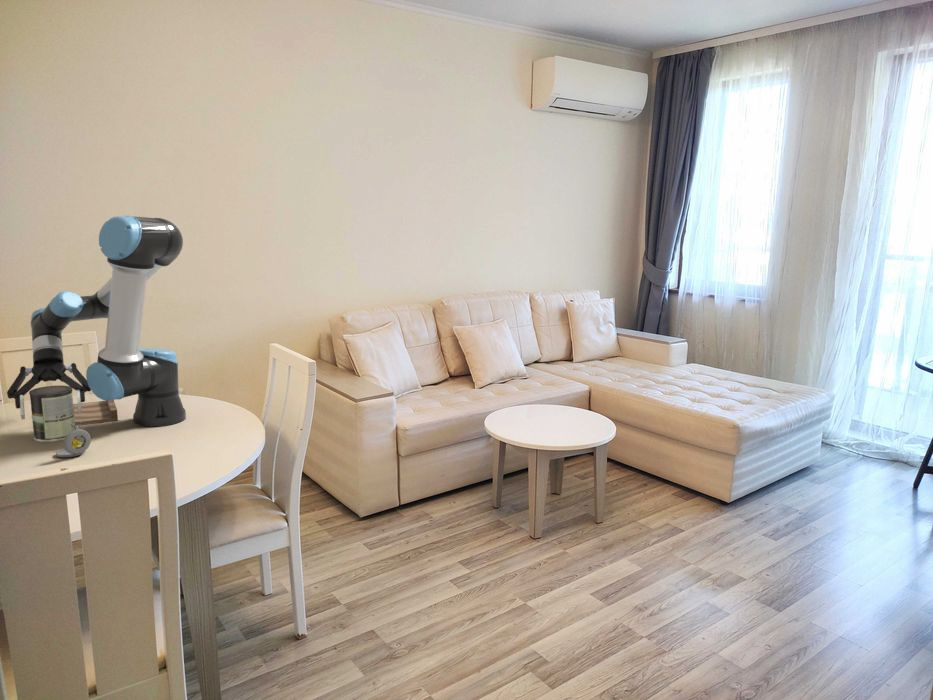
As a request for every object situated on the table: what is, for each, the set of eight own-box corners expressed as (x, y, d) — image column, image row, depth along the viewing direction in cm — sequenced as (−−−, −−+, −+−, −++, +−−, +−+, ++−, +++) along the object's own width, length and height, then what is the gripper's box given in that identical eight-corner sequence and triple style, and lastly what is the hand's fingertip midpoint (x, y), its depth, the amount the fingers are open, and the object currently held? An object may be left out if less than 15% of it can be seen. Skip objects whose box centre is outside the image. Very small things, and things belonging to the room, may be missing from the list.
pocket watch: (65, 450, 165) (62, 415, 163) (97, 450, 166) (94, 415, 164) (47, 460, 157) (43, 423, 155) (81, 461, 158) (78, 424, 156)
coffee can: (25, 442, 170) (20, 393, 168) (46, 431, 180) (42, 385, 178) (64, 442, 171) (60, 394, 169) (83, 431, 181) (79, 385, 179)
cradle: (55, 408, 203) (54, 398, 202) (112, 402, 212) (111, 393, 211) (55, 427, 183) (54, 416, 183) (117, 420, 192) (117, 409, 192)
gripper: (96, 357, 193) (102, 414, 183) (-3, 364, 179) (-1, 426, 169) (95, 344, 187) (102, 402, 178) (-6, 349, 174) (-5, 412, 164)
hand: (51, 414), depth 174 cm, fingers open, 13 cm apart
